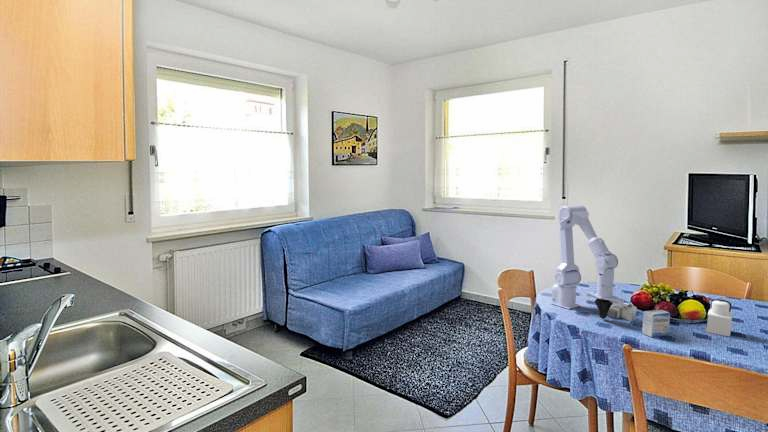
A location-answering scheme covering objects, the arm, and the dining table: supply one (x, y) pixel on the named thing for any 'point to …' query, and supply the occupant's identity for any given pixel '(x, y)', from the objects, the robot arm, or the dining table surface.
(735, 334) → the dining table surface
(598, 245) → the robot arm
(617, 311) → the cream rectangular bar
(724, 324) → the medicine bottle
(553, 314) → the dining table surface
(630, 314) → the bearing block
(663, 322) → the medicine box
